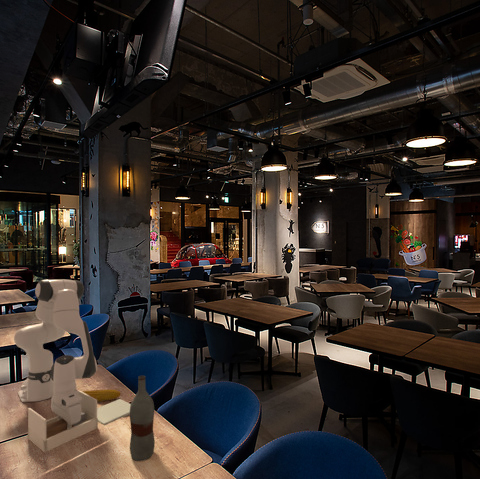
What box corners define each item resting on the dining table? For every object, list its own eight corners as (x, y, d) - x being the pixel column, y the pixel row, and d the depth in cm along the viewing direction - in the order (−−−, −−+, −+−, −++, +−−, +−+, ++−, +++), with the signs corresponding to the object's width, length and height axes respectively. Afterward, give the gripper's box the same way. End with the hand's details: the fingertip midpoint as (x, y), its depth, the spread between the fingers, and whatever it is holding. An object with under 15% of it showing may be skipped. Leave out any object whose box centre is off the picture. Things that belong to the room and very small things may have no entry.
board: (86, 415, 162) (86, 412, 162) (119, 401, 176) (119, 398, 176) (104, 426, 152) (104, 423, 152) (138, 410, 166) (138, 407, 166)
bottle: (130, 464, 125) (130, 383, 125) (128, 451, 133) (127, 374, 134) (156, 458, 129) (156, 378, 129) (152, 445, 137) (152, 370, 137)
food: (76, 406, 171) (76, 394, 171) (78, 401, 177) (78, 389, 177) (120, 400, 177) (120, 389, 177) (121, 395, 182) (121, 384, 183)
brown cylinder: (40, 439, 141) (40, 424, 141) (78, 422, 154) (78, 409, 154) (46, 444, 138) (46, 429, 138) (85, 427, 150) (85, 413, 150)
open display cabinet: (27, 439, 142) (27, 408, 142) (79, 417, 159) (79, 390, 159) (44, 454, 132) (44, 420, 132) (97, 429, 149) (97, 399, 150)
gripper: (46, 391, 150) (47, 422, 150) (68, 404, 138) (68, 438, 138) (61, 386, 155) (61, 416, 155) (83, 398, 143) (84, 431, 143)
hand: (65, 427), depth 146 cm, fingers closed on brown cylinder, 5 cm apart
